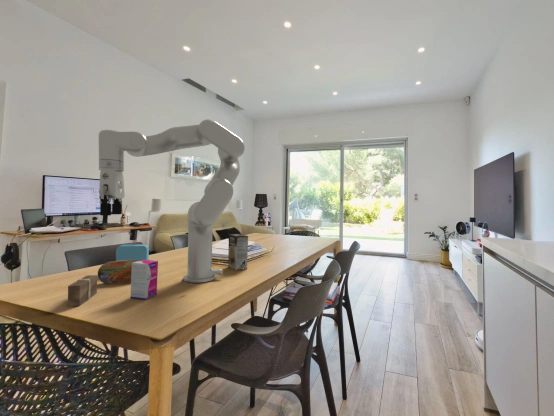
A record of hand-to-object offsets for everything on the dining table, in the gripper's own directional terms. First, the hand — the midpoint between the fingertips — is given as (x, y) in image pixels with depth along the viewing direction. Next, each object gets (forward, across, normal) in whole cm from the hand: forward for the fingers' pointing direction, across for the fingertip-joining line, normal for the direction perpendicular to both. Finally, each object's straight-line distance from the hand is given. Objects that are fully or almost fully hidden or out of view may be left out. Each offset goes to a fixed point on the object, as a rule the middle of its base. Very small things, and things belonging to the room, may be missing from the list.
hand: (111, 214), depth 96 cm
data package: (+26, +23, 0) cm, 35 cm away
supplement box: (+26, -11, -14) cm, 32 cm away
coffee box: (+27, +27, -46) cm, 60 cm away
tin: (+26, +8, 0) cm, 28 cm away
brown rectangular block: (+26, -11, +4) cm, 29 cm away
